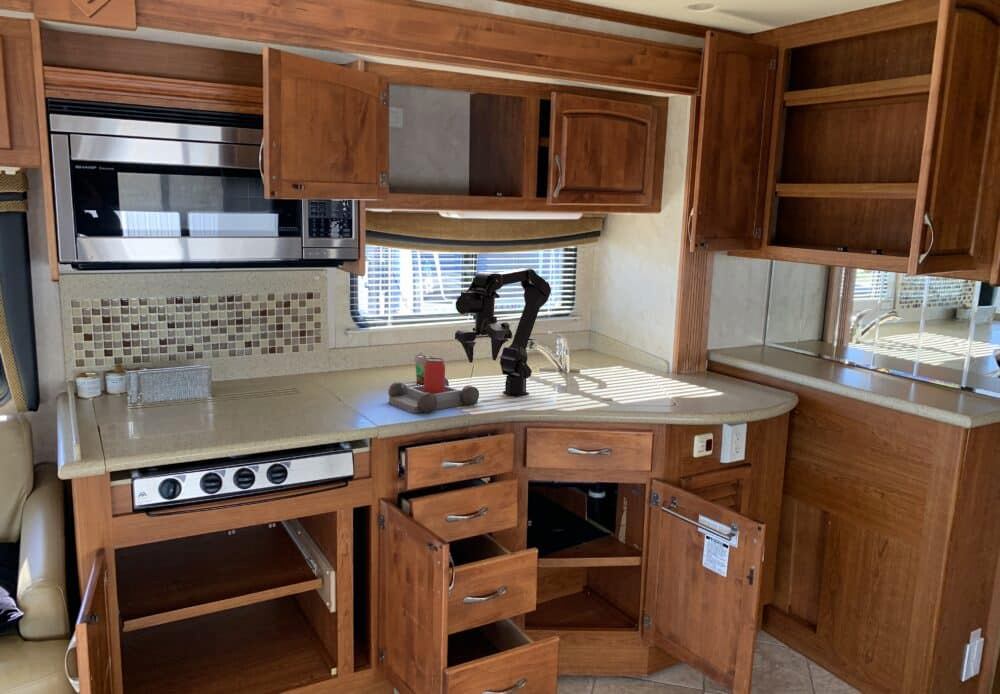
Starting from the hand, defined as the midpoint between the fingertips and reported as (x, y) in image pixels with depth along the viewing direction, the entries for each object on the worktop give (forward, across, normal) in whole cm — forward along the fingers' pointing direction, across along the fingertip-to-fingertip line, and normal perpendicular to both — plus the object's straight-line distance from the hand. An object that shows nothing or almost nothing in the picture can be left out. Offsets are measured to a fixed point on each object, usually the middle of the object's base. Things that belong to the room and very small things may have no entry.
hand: (482, 361), depth 249 cm
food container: (+13, -2, +30) cm, 33 cm away
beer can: (+12, -14, +6) cm, 19 cm away
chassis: (+13, -14, +6) cm, 20 cm away
